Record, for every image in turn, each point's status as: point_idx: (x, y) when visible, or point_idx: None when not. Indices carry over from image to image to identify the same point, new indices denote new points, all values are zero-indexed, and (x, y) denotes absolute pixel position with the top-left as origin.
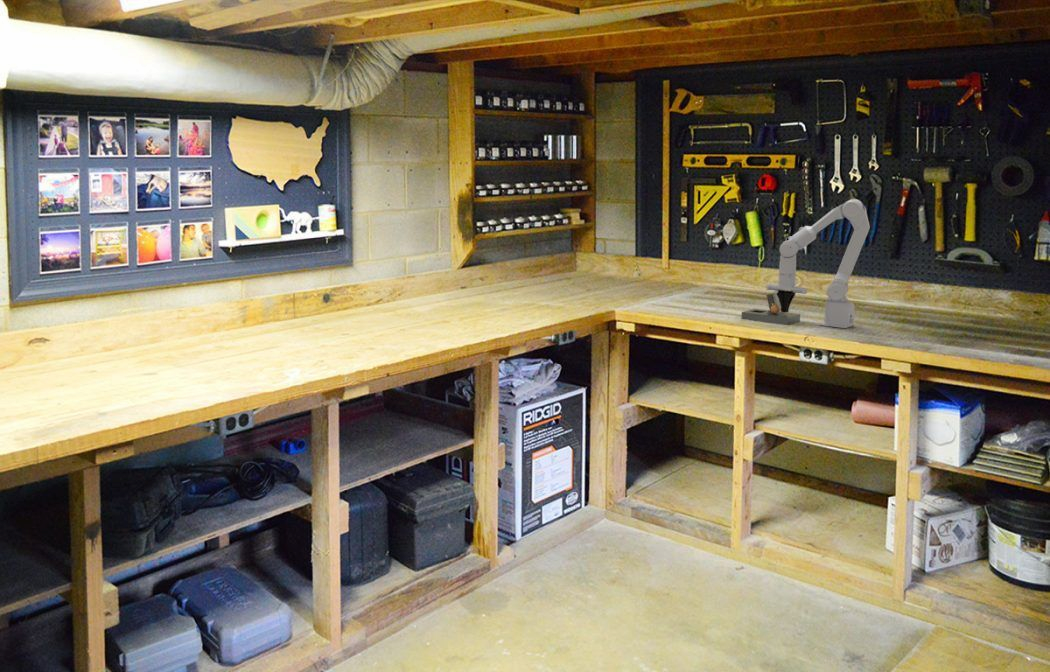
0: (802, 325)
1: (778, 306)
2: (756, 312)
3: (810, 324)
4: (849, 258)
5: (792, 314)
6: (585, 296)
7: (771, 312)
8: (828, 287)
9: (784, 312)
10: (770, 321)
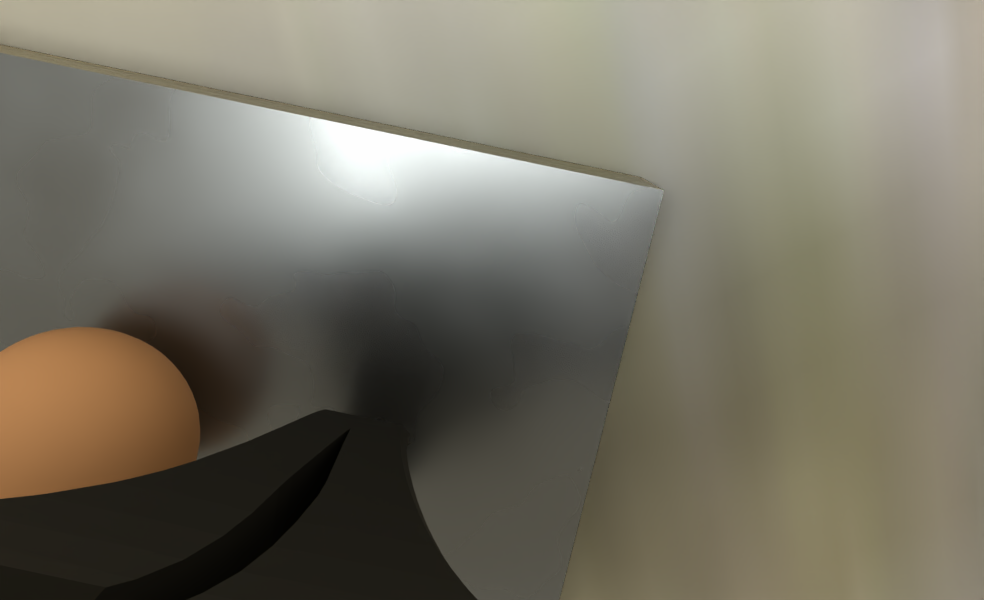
0: (760, 592)
1: (119, 475)
2: None
3: (882, 437)
4: None
5: (506, 329)
6: None
7: (26, 295)
8: None
9: (267, 137)
10: None
